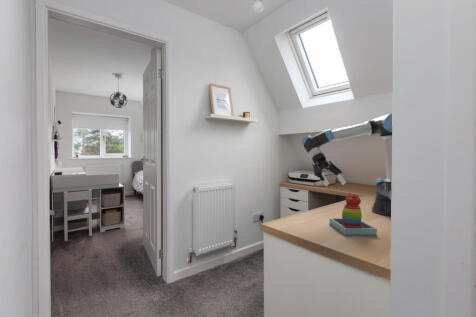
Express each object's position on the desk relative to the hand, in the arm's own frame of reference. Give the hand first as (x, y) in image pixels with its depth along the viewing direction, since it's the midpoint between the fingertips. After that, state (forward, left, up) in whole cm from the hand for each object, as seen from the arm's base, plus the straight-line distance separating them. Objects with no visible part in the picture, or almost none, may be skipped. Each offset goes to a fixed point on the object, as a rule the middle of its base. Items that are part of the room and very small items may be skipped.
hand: (336, 184), depth 130 cm
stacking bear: (-4, +10, -21) cm, 24 cm away
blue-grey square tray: (-4, +11, -22) cm, 25 cm away
